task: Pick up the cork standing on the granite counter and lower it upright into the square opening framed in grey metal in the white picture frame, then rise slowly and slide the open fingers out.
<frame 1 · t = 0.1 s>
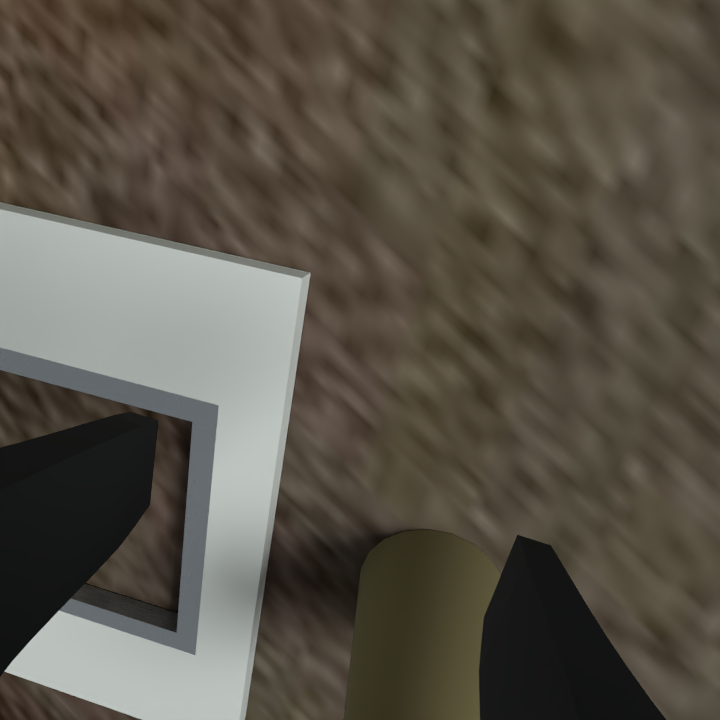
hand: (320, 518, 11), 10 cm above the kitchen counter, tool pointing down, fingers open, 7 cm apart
cork: (431, 588, 24), on the kitchen counter
white picture frame: (81, 488, 25), on the kitchen counter
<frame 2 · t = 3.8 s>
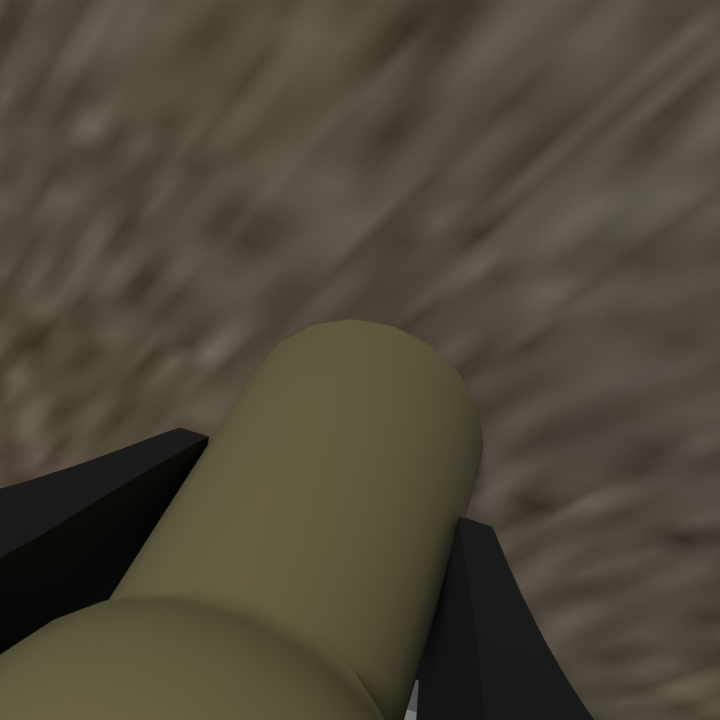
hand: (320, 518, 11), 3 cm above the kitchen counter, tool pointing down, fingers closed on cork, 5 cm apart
cork: (359, 433, 14), on the kitchen counter, touching gripper
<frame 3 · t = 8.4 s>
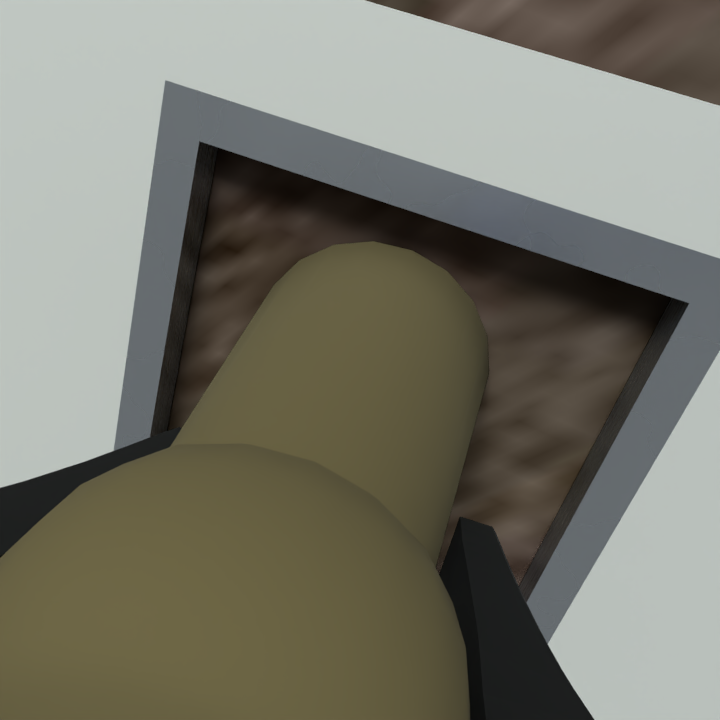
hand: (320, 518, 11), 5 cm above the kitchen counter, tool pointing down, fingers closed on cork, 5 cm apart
cork: (369, 357, 15), resting in white picture frame, touching gripper
white picture frame: (369, 416, 15), on the kitchen counter
when the fingers open (4 cm above the kitchen counter, at t = 9.0 s): cork stays where it is, resting in white picture frame.
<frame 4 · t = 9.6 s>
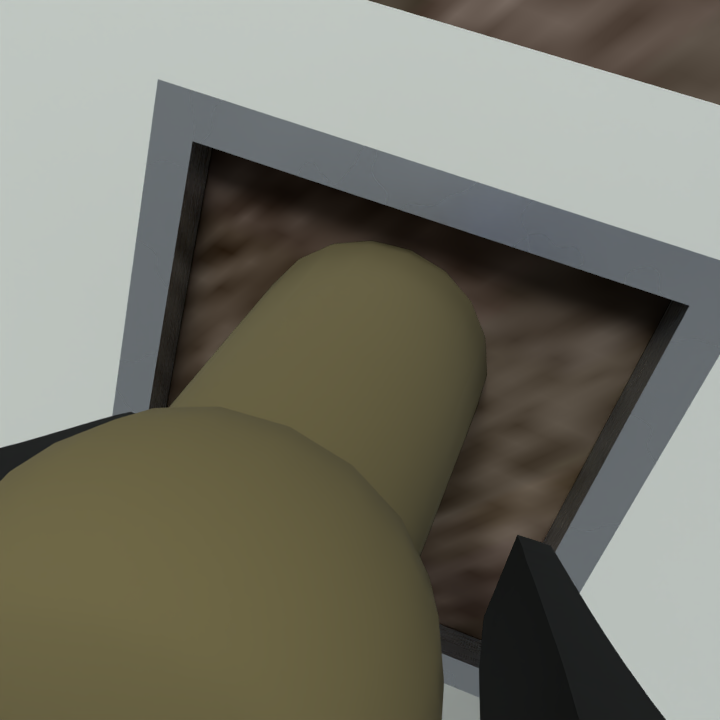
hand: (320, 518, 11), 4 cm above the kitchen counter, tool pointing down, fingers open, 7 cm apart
cork: (367, 358, 15), resting in white picture frame
white picture frame: (365, 419, 15), on the kitchen counter
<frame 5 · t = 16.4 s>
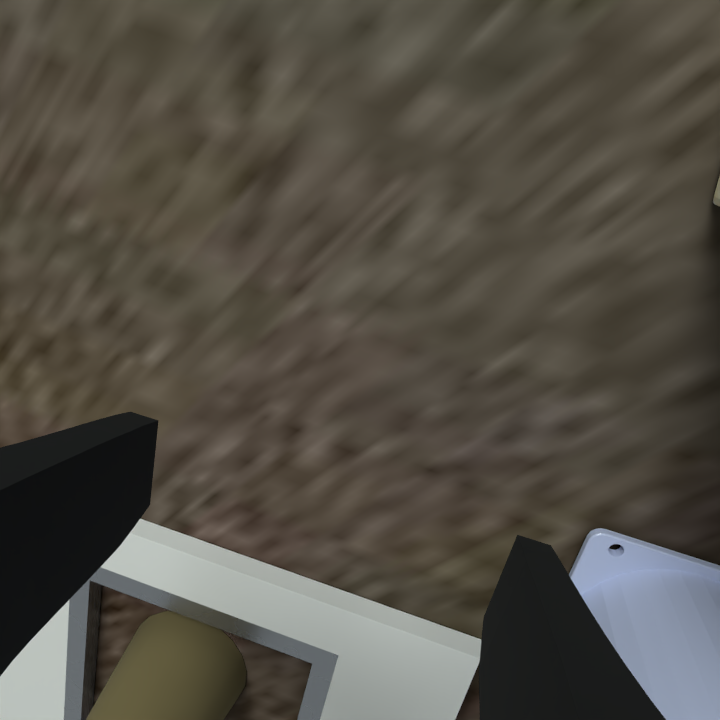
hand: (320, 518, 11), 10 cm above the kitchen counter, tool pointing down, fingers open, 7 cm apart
cork: (191, 657, 28), resting in white picture frame
white picture frame: (194, 686, 29), on the kitchen counter
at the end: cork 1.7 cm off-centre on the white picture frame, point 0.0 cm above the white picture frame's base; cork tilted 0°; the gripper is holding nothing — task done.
